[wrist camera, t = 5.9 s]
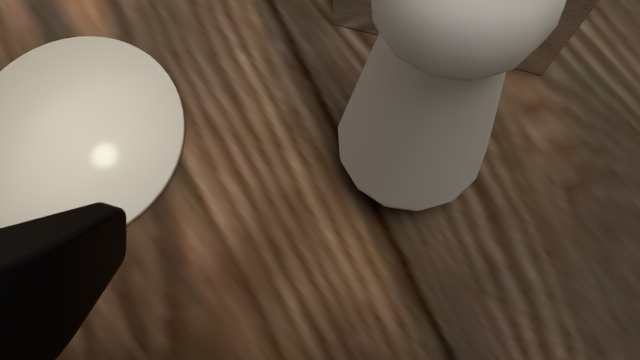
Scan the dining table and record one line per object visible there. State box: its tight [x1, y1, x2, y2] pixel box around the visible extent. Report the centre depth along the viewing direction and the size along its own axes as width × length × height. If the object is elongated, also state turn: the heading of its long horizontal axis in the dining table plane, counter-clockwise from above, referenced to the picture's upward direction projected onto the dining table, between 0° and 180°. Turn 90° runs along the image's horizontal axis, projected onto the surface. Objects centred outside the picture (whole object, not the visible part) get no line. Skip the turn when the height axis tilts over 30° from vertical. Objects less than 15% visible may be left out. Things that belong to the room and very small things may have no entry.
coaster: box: [0, 36, 186, 228], centre depth 23 cm, size 10×10×1 cm
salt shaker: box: [338, 0, 566, 211], centre depth 16 cm, size 6×6×13 cm
